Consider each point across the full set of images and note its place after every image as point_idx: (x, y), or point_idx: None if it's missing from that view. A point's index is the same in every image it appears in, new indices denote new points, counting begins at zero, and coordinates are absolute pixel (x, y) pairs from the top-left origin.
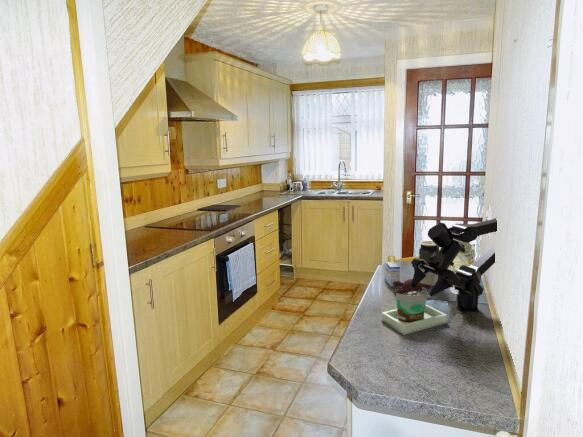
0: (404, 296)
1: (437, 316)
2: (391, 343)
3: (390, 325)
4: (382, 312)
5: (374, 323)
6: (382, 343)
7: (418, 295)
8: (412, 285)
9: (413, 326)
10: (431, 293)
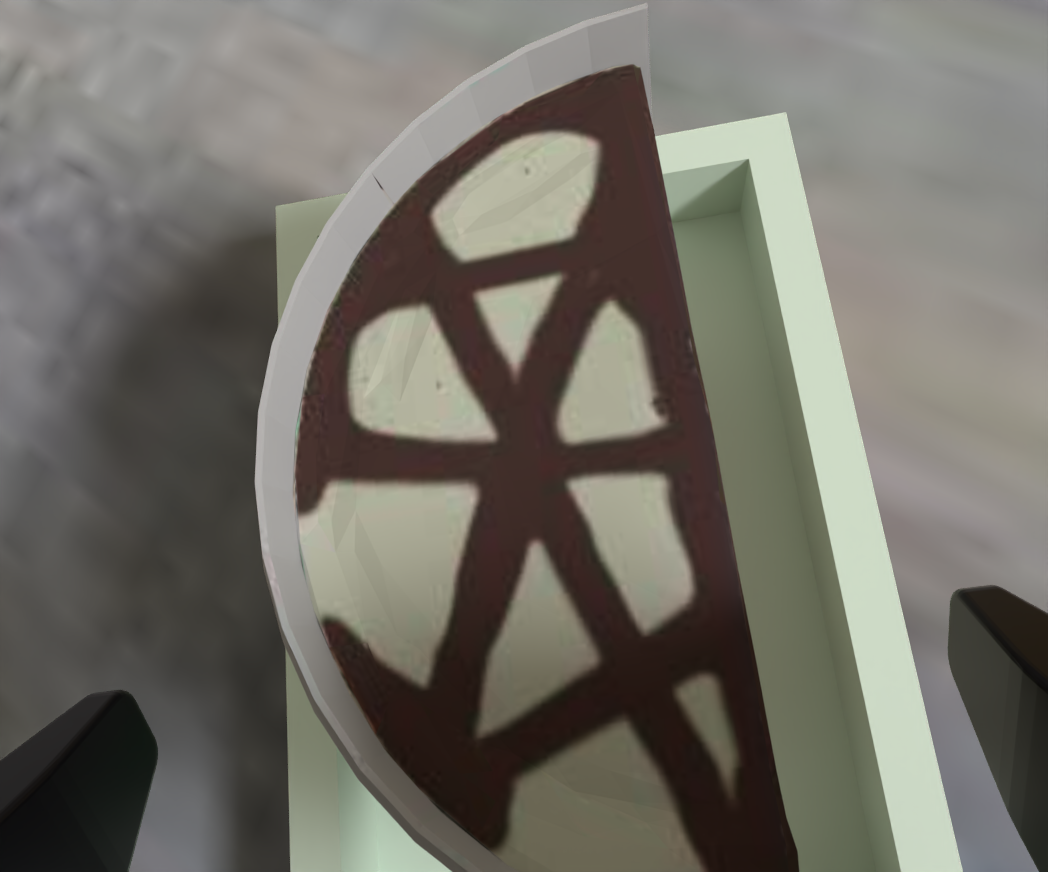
0: (430, 130)
1: (314, 854)
2: (226, 76)
3: None
4: (784, 123)
5: (722, 82)
6: (265, 2)
7: (258, 411)
8: (974, 633)
9: None
10: (46, 744)
